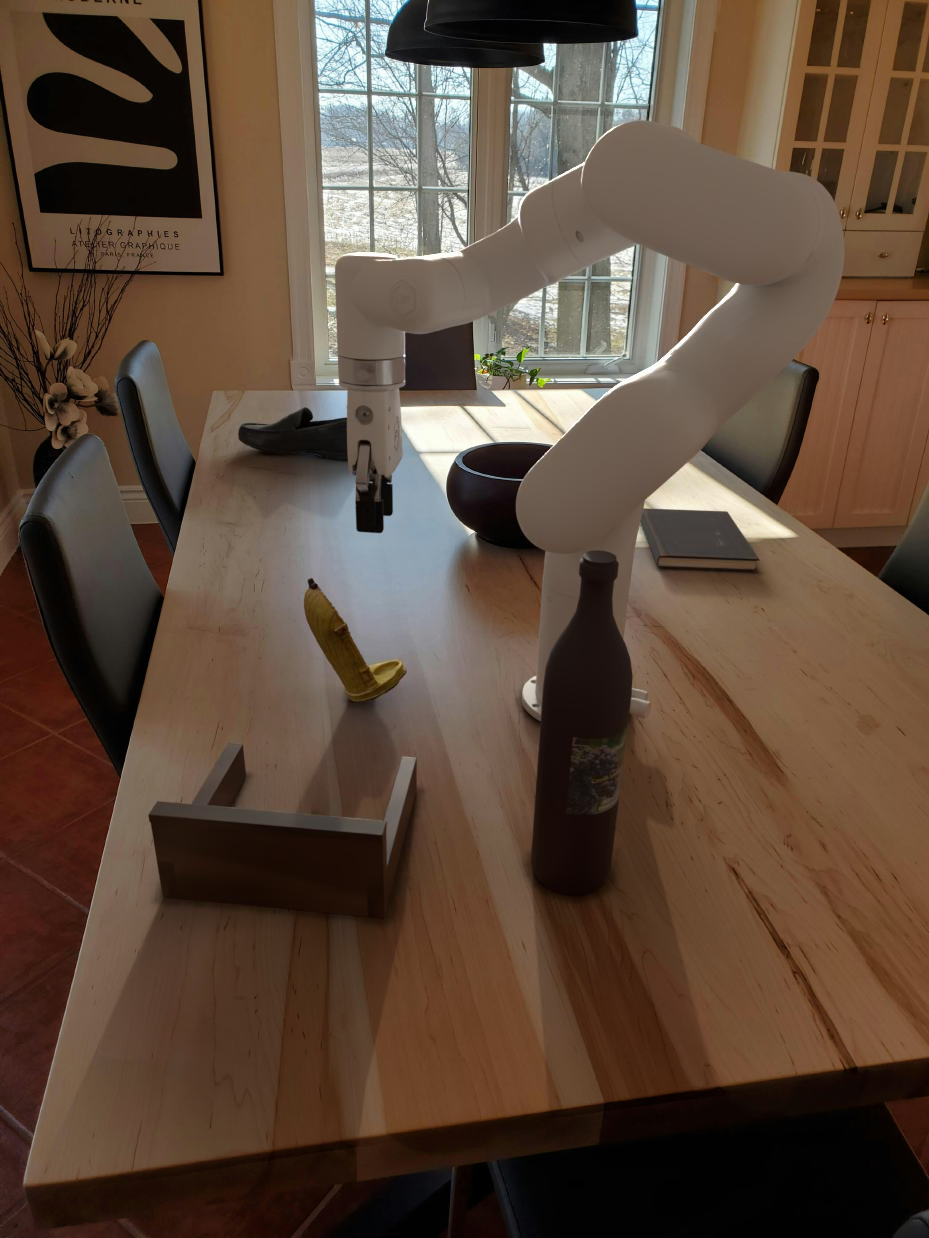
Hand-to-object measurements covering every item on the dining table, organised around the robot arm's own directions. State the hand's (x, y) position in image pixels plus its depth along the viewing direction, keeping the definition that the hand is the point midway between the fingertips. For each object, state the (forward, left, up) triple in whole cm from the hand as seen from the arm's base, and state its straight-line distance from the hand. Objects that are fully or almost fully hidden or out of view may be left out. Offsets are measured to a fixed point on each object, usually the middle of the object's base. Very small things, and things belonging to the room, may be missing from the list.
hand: (375, 521), depth 109 cm
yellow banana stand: (-5, +11, -18) cm, 22 cm away
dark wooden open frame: (-16, +34, -17) cm, 41 cm away
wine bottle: (-39, +24, -18) cm, 49 cm away
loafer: (+70, -65, -18) cm, 97 cm away
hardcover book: (-21, -61, -18) cm, 67 cm away
